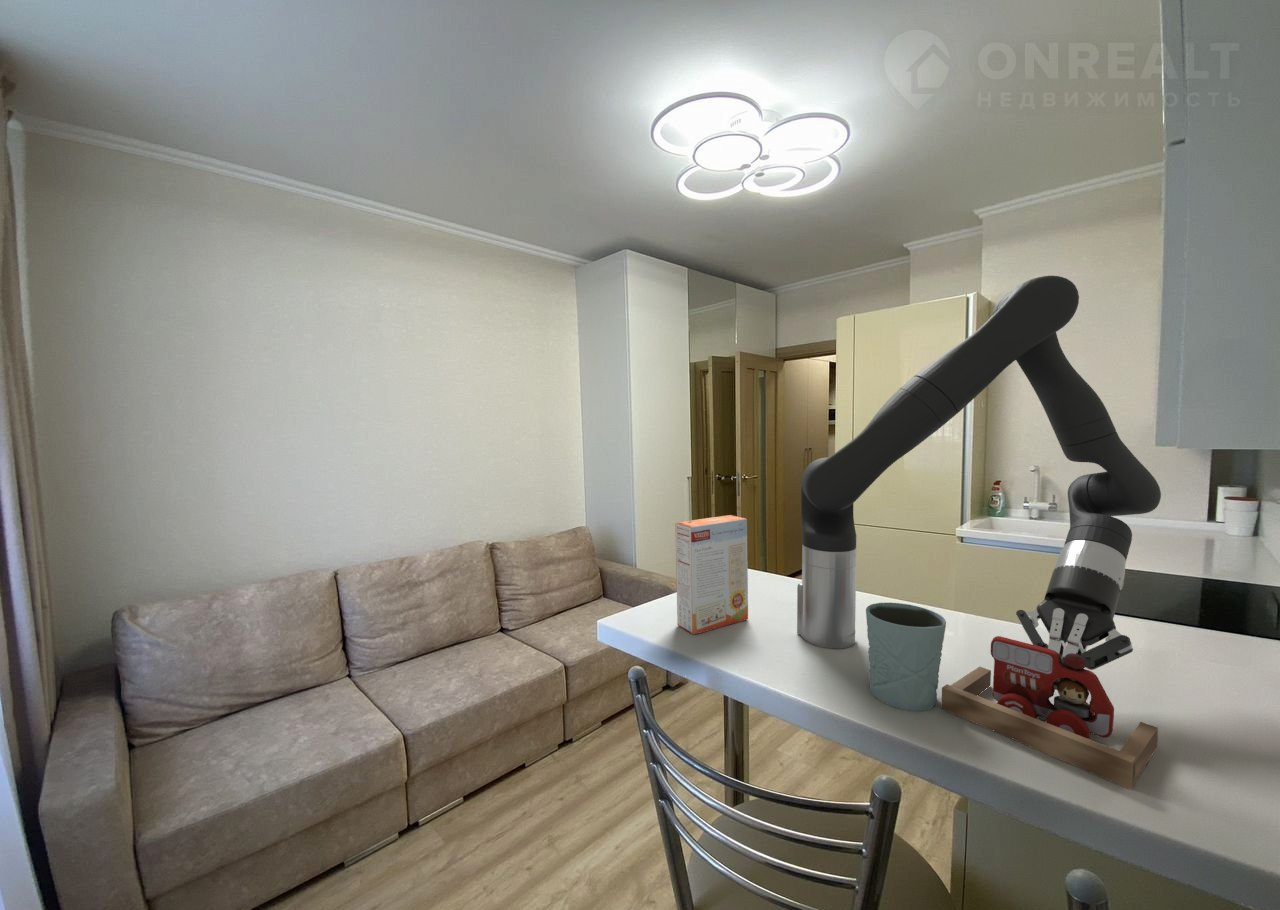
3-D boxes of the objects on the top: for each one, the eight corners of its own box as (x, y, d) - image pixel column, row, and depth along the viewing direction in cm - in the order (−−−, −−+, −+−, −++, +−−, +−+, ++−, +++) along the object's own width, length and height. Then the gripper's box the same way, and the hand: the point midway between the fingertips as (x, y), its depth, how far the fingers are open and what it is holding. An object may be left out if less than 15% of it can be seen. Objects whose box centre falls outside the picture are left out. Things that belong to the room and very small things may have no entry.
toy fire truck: (1108, 763, 58) (1112, 675, 57) (982, 717, 67) (984, 641, 66) (1114, 737, 62) (1118, 656, 62) (995, 698, 72) (997, 627, 71)
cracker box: (729, 611, 106) (729, 513, 105) (749, 620, 101) (749, 518, 100) (675, 625, 99) (674, 520, 98) (693, 635, 94) (692, 525, 93)
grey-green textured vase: (851, 691, 74) (852, 611, 73) (885, 670, 80) (886, 596, 79) (924, 723, 66) (926, 634, 65) (955, 697, 72) (958, 615, 71)
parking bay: (941, 708, 69) (941, 687, 69) (979, 682, 76) (979, 663, 76) (1131, 789, 53) (1132, 762, 53) (1157, 747, 60) (1158, 723, 60)
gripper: (1025, 555, 77) (989, 654, 70) (1145, 575, 66) (1116, 695, 59) (1036, 582, 80) (1003, 680, 74) (1153, 606, 69) (1126, 723, 63)
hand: (1053, 686), depth 67 cm, fingers closed
